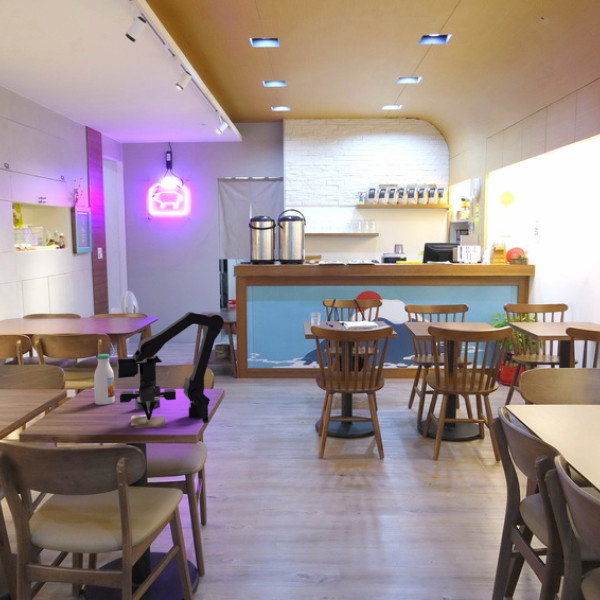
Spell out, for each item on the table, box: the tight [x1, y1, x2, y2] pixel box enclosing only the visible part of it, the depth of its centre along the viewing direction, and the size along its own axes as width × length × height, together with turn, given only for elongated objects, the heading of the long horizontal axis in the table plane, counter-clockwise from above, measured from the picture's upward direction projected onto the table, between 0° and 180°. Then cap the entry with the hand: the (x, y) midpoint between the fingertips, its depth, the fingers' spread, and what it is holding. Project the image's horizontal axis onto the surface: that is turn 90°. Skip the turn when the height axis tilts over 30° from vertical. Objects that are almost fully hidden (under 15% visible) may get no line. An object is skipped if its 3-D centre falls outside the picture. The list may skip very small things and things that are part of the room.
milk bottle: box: [93, 353, 116, 406], centre depth 228 cm, size 8×8×20 cm
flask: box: [134, 388, 161, 411], centre depth 215 cm, size 9×3×11 cm, turn 109°
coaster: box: [130, 414, 147, 426], centre depth 195 cm, size 5×5×2 cm
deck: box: [134, 416, 166, 429], centre depth 196 cm, size 10×12×2 cm
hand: (148, 419), depth 196 cm, fingers closed
